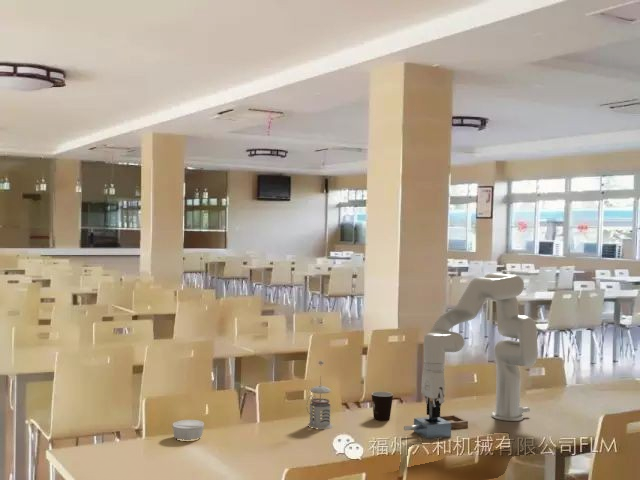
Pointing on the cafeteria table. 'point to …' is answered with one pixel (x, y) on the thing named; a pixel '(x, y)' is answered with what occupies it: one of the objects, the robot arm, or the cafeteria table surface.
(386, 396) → the coffee mug
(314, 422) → the french press
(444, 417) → the tray
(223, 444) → the cafeteria table surface
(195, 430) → the ramekin
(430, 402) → the orange grey cylinder
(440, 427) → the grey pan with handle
